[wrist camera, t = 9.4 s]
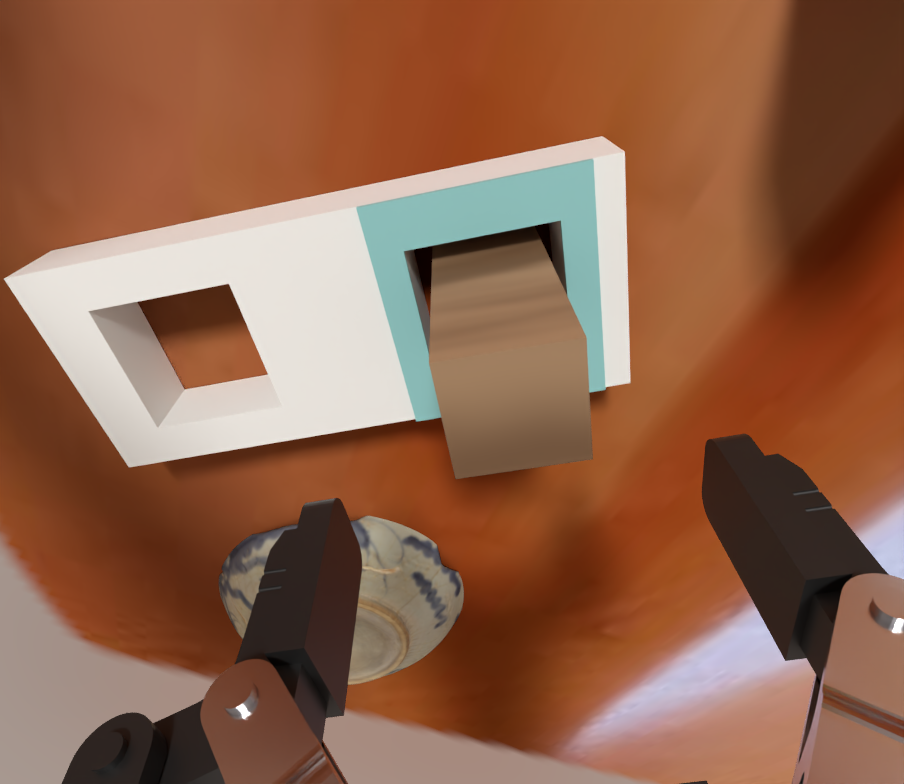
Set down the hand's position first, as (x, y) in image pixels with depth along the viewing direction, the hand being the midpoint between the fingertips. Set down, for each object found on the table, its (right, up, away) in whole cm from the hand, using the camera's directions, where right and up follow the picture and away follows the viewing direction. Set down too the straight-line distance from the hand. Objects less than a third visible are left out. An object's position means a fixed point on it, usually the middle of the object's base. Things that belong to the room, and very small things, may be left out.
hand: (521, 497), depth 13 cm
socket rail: (-6, +6, +12) cm, 14 cm away
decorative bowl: (-8, -10, +23) cm, 26 cm away
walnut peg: (0, +7, +11) cm, 13 cm away
